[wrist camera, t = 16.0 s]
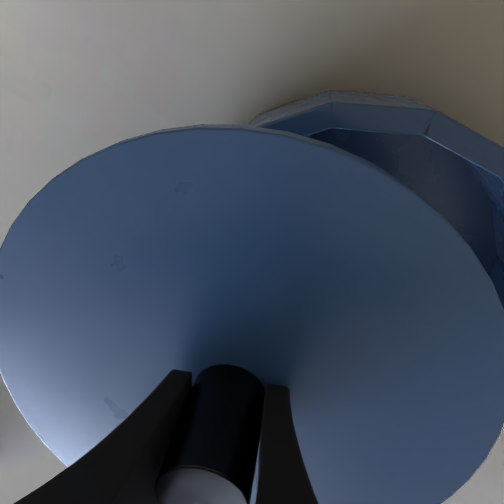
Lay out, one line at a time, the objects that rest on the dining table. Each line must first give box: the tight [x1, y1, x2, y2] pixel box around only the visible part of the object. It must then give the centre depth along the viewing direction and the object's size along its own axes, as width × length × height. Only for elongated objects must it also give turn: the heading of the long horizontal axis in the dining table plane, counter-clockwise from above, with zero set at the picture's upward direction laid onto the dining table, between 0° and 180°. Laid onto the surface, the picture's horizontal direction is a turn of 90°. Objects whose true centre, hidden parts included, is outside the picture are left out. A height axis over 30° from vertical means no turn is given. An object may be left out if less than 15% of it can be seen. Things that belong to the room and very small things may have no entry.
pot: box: [247, 91, 504, 309], centre depth 18 cm, size 16×16×5 cm
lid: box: [0, 124, 504, 504], centre depth 12 cm, size 17×17×5 cm
